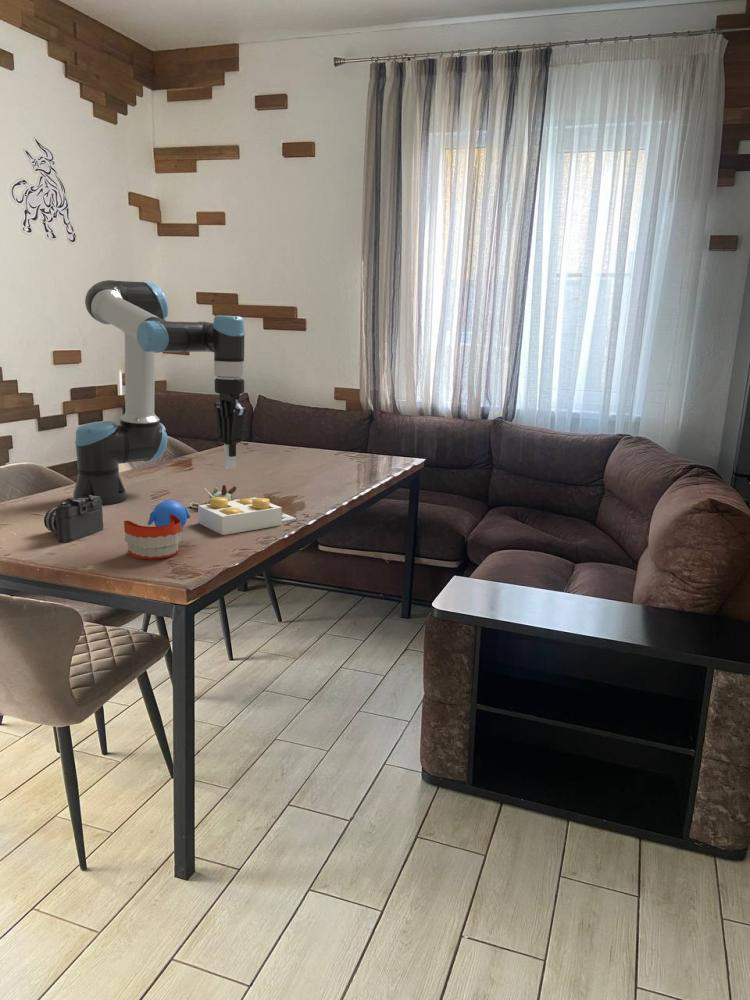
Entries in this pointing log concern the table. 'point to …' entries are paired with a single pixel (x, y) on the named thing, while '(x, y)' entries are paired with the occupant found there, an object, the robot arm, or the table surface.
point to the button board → (239, 518)
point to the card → (287, 518)
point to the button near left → (231, 511)
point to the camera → (75, 518)
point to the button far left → (218, 502)
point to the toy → (153, 539)
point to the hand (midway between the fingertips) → (230, 468)
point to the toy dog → (217, 495)
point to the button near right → (260, 503)
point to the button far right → (245, 501)
